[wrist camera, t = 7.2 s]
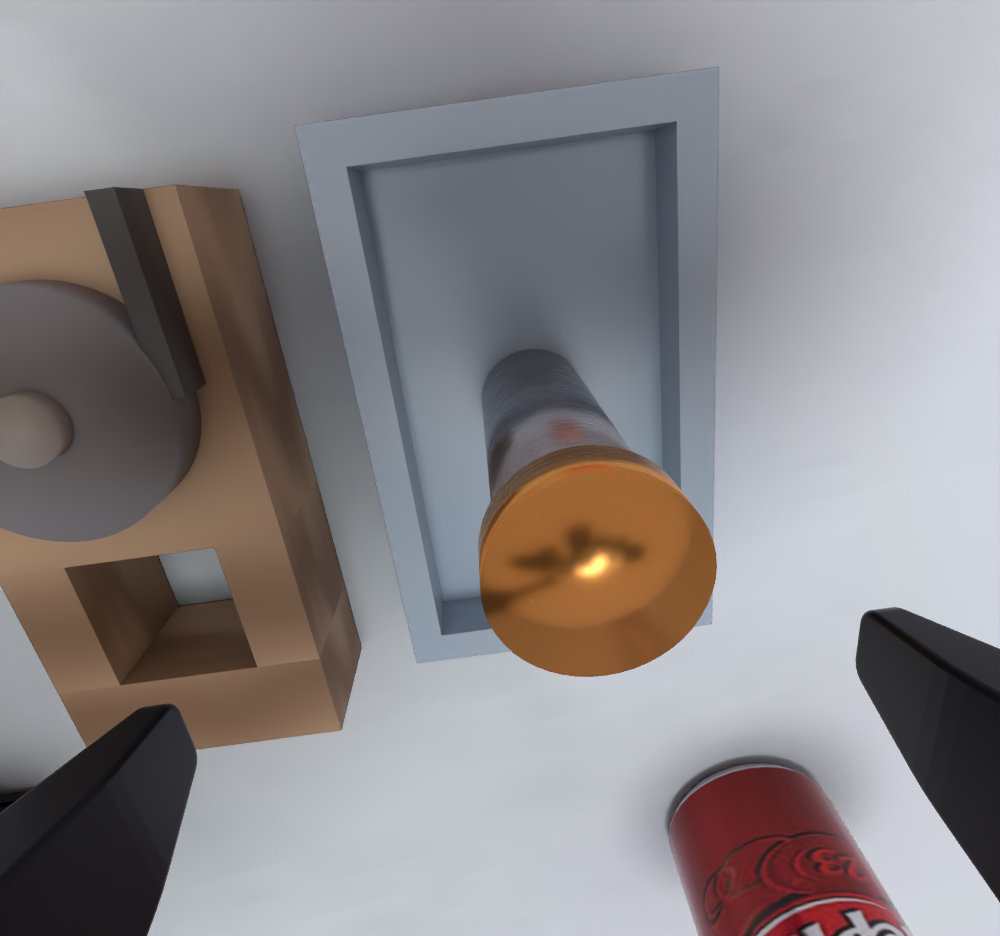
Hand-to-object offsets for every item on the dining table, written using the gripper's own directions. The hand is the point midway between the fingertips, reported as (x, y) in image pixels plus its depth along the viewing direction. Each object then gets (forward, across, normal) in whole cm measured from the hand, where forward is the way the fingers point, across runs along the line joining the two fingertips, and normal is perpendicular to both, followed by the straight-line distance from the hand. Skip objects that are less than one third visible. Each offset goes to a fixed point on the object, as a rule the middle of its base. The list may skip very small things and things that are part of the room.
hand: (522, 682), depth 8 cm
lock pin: (+12, -1, 0) cm, 12 cm away
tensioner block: (+13, +10, +1) cm, 16 cm away
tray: (+13, -1, 0) cm, 13 cm away
